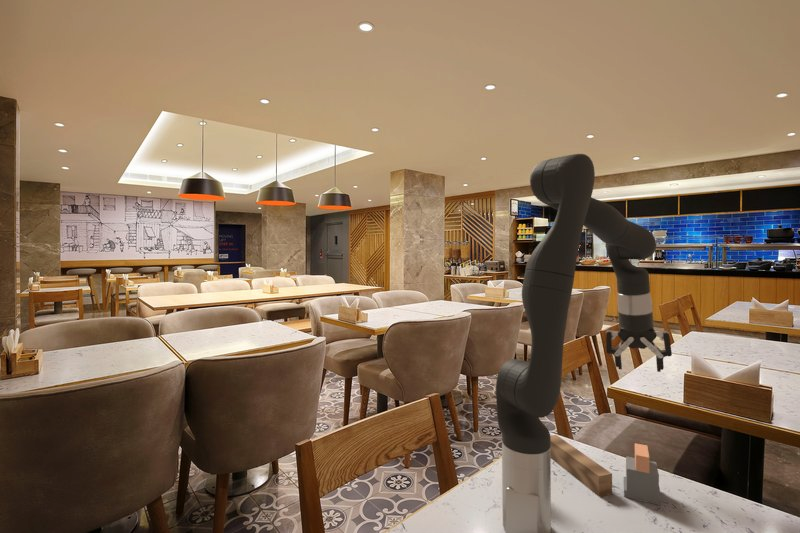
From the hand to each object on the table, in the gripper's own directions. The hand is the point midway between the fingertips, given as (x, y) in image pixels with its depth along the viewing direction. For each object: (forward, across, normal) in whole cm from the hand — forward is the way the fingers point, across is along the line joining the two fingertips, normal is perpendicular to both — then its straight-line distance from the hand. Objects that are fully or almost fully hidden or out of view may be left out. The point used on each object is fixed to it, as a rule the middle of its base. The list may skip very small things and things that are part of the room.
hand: (639, 369), depth 103 cm
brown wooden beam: (+21, -15, -17) cm, 31 cm away
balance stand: (+21, -1, -19) cm, 29 cm away
